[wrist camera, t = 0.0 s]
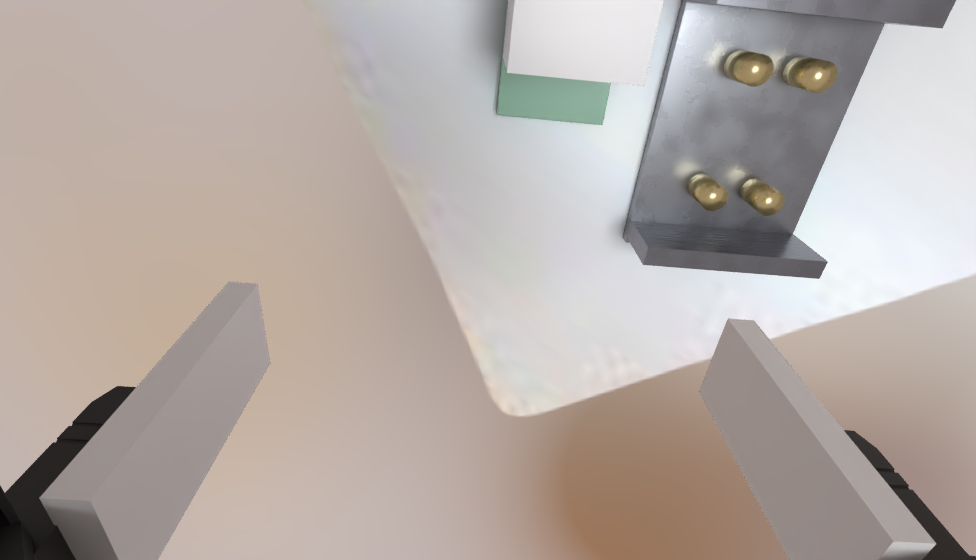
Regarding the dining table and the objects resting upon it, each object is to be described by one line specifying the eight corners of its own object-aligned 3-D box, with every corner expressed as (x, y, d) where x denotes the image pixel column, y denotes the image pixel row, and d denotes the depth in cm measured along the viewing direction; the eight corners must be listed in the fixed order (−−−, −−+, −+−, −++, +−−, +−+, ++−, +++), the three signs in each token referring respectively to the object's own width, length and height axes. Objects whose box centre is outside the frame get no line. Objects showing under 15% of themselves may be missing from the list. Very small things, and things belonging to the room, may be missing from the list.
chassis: (690, -32, 34) (727, -37, 28) (888, -10, 34) (961, -11, 29) (622, 237, 44) (641, 270, 38) (777, 249, 44) (816, 284, 39)
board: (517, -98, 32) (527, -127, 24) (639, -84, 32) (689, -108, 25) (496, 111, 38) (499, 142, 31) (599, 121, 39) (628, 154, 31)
